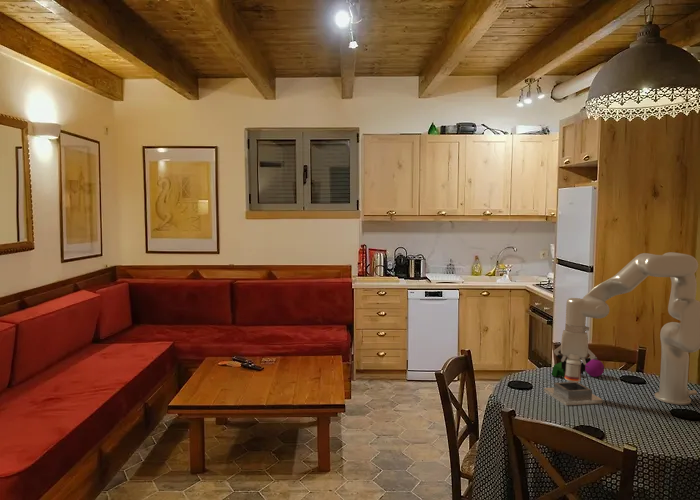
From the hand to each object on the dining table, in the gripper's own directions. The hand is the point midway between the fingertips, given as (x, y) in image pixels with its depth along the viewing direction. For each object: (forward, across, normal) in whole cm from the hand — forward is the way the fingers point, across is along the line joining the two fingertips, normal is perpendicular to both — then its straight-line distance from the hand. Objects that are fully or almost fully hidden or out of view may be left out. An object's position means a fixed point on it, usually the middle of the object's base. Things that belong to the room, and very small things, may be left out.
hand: (573, 371), depth 215 cm
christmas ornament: (+11, -9, -34) cm, 36 cm away
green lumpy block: (+11, +4, -28) cm, 31 cm away
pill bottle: (+4, 0, 0) cm, 4 cm away
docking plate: (+11, 0, 0) cm, 11 cm away
